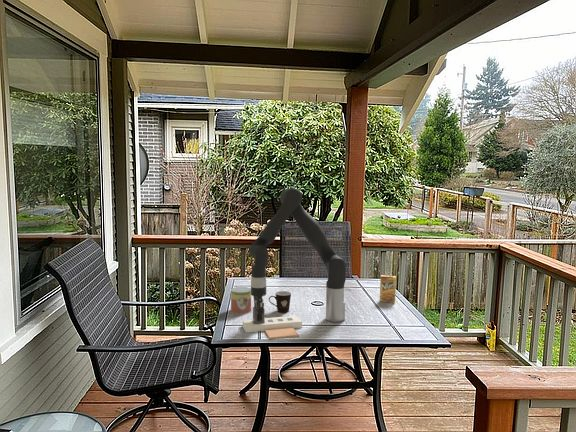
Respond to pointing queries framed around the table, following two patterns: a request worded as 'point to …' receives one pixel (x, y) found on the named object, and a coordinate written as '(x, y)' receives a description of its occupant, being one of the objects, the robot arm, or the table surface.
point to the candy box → (387, 288)
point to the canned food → (241, 300)
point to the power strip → (273, 323)
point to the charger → (256, 316)
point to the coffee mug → (282, 301)
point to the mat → (281, 333)
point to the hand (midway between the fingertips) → (258, 319)
